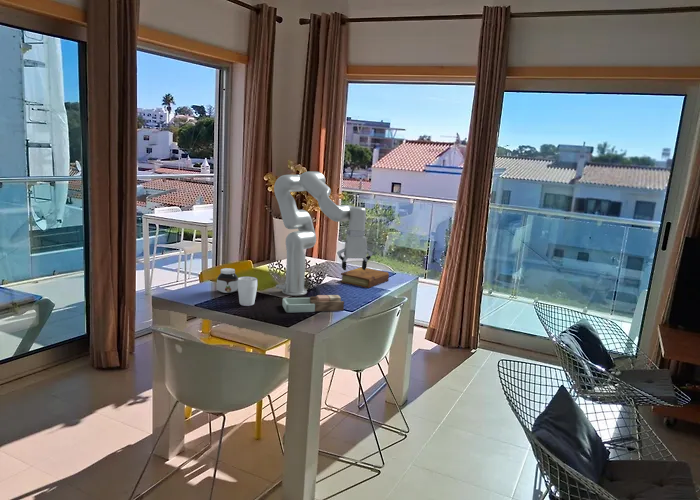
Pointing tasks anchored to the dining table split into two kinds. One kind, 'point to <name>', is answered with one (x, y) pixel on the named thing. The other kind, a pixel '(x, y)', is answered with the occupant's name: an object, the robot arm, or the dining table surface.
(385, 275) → the diary
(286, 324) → the dining table surface
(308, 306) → the box
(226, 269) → the spread jar
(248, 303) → the cup
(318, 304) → the bench plate
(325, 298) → the terracotta tile
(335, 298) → the maple tile
